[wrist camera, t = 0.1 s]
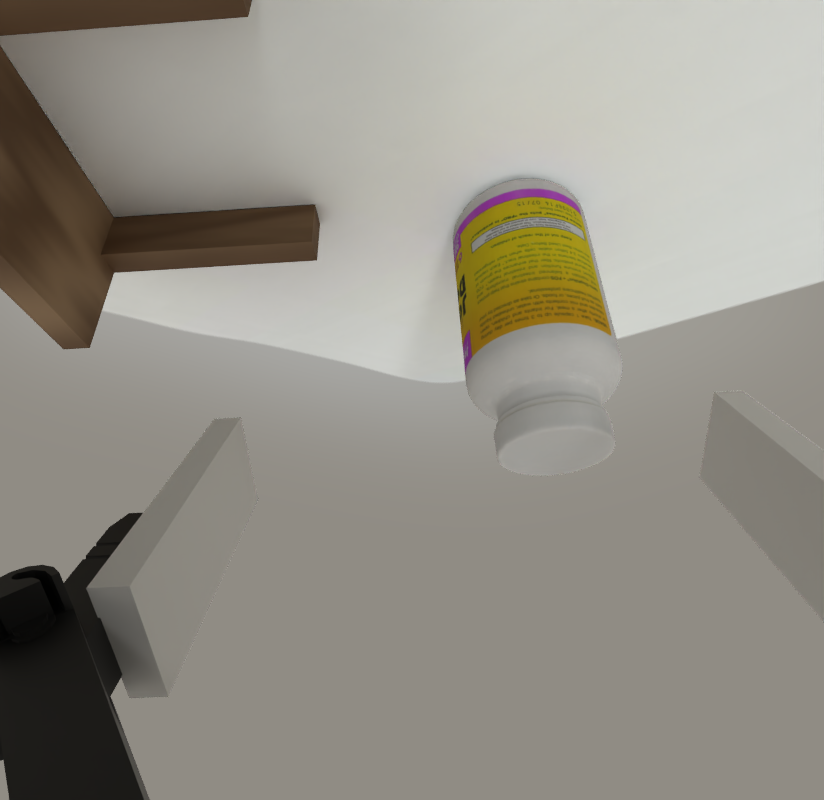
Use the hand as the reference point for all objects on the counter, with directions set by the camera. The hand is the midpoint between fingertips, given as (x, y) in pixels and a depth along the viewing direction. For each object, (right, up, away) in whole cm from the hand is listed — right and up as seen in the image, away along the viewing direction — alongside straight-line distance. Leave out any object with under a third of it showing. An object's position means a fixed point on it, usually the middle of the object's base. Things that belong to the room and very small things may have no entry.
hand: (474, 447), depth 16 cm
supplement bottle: (+4, +10, +13) cm, 17 cm away
